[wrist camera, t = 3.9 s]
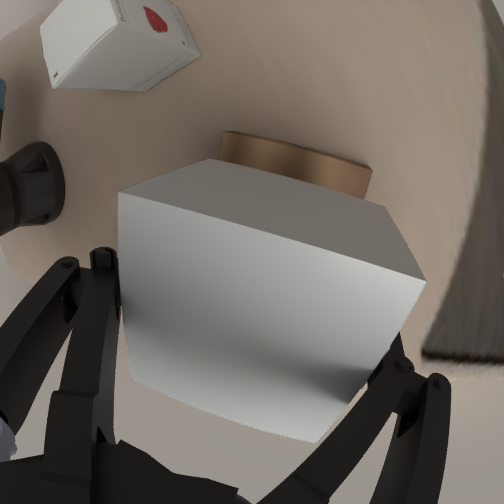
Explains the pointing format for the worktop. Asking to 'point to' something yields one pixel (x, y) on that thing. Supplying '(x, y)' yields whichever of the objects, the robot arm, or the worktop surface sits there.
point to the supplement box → (115, 44)
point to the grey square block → (259, 293)
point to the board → (295, 163)
